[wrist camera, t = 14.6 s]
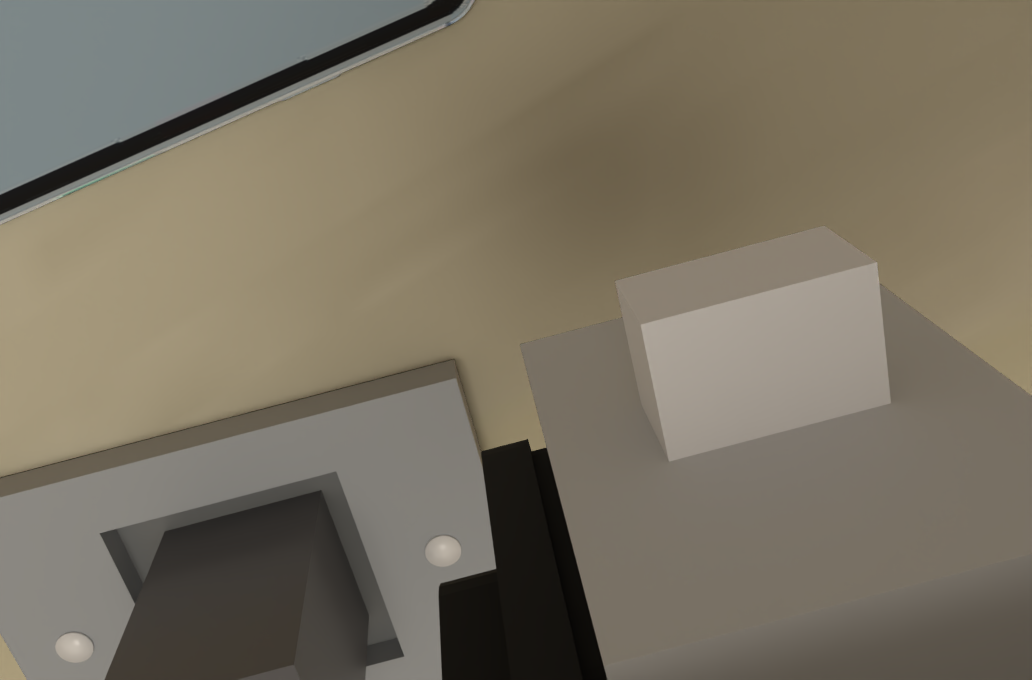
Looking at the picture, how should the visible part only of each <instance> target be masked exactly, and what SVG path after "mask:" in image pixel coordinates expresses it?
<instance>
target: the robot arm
mask: <svg viewBox="0 0 1032 680" xmlns="http://www.w3.org/2000/svg"><path fill="white" fill-rule="evenodd" d="M481 459H482V466H483V473H484V481H485V488H486V496H487V503H488V511H489V518H490V526H491V533H492V540H493V548H494V555H495V563H496V569H493V570H490V571H486V572H482V573H478V574H474V575H471V576H467V577H463V578H459V579H455V580H452V581H448V582H444V583H441V584H440V586H439V596H438V597H439V621H440V645H441V668H442V680H607V676H606V672H605V669H604V665H603V661H602V657H601V653H600V649H599V646H598V642H597V638H596V634H595V630H594V627H593V623H592V619H591V615H590V611H589V607H588V604H587V600H586V596H585V592H584V588H583V584H582V581H581V577H580V573H579V569H578V565H577V561H576V558H575V554H574V550H573V546H572V542H571V538H570V535H569V531H568V527H567V523H566V519H565V515H564V512H563V508H562V504H561V500H560V496H559V492H558V489H557V485H556V481H555V477H554V473H553V470H552V466H551V462H550V458H549V454H548V450H547V448H543V449H539V450H536V451H532V452H531V448H530V445H529V442H528V439H527V440H523V441H519V442H516V443H512V444H508V445H504V446H500V447H497V448H493V449H489V450H485V451H482V452H481Z"/></svg>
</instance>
